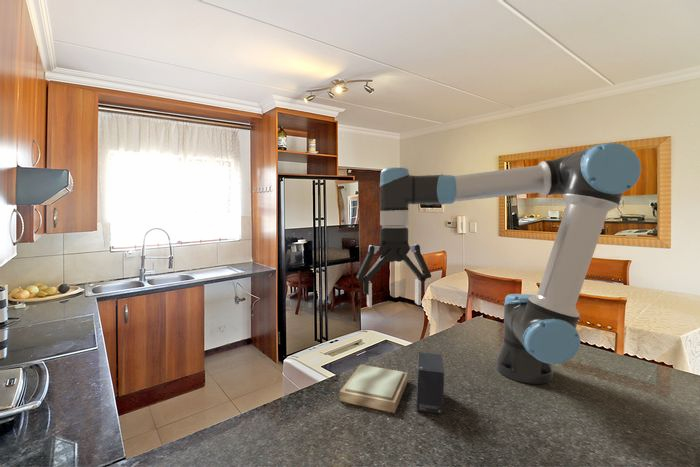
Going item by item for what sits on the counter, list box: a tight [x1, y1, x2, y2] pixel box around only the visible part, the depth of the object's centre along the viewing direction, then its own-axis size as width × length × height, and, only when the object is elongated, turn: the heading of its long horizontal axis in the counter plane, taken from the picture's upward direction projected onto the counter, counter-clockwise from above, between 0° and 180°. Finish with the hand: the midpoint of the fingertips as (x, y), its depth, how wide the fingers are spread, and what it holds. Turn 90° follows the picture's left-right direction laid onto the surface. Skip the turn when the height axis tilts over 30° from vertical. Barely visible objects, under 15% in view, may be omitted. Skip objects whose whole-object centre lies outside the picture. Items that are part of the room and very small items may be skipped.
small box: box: [415, 351, 445, 415], centre depth 87 cm, size 11×6×10 cm, turn 168°
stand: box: [339, 364, 409, 414], centre depth 92 cm, size 14×16×3 cm
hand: (393, 305), depth 95 cm, fingers open, 13 cm apart
